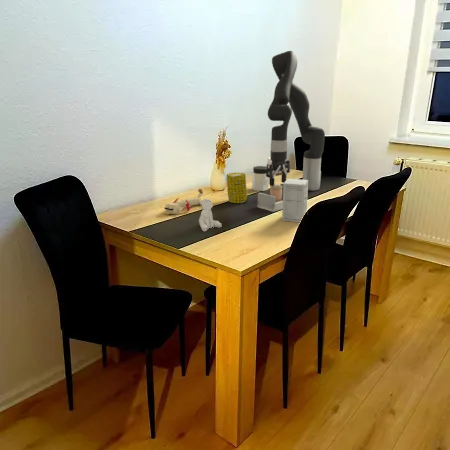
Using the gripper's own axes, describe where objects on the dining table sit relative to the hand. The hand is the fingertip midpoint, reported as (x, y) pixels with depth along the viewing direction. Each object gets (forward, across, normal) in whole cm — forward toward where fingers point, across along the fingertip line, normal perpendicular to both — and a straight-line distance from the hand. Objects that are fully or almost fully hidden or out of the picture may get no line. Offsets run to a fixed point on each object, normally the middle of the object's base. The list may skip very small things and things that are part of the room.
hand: (277, 184), depth 213 cm
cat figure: (+11, +35, -27) cm, 45 cm away
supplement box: (+11, +9, +17) cm, 23 cm away
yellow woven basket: (+11, +8, -20) cm, 24 cm away
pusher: (+10, -7, 0) cm, 12 cm away
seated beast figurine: (+11, +44, -1) cm, 45 cm away
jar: (+11, -18, -27) cm, 35 cm away
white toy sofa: (+11, -1, 0) cm, 11 cm away
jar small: (+10, 0, -1) cm, 10 cm away
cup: (+12, -56, -47) cm, 74 cm away
